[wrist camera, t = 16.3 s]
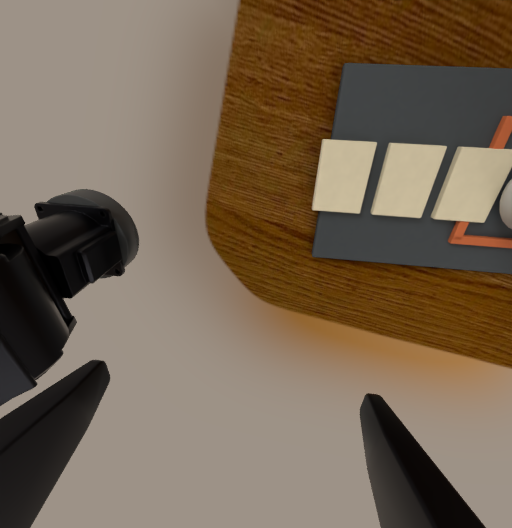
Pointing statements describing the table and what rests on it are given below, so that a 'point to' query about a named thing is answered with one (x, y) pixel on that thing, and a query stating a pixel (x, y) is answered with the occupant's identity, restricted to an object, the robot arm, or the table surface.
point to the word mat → (417, 168)
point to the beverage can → (506, 205)
